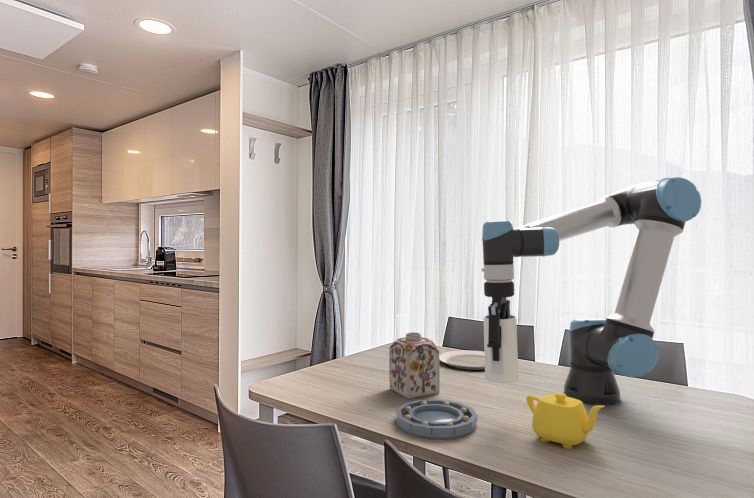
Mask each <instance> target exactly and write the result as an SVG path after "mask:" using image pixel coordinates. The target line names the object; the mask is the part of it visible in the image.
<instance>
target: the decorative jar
mask: <svg viewBox="0 0 754 498" xmlns="http://www.w3.org/2000/svg"><path fill="white" fill-rule="evenodd" d="M439 355H440V350H439V348H438V347H437V345H436V344H435V342H434V341H433V339H429V338H427V337H423V336H422V333H420V332H406V334H405V337H399V338H397V339H395V340H394V341H393V342H392V343H391V345H390V347H389V355H388V356H389V363H388V368H389V370H388V371H389V373H388V374H389V377H388V378H389V389H390V390H392V391H393V392H395V393H397V394H398V395H401V396H402V397H404V398H406V399H407V400H411V399H416V398H419V397H421V398H422V397H426V396H431V395H436V394H440V388H441V387H440V384H441V383H440V382H441V381H440V380H441V379H440V377H441V376H440V370H441V368H440V360H439Z"/></svg>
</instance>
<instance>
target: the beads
mask: <svg viewBox="0 0 754 498" xmlns="http://www.w3.org/2000/svg"><path fill="white" fill-rule="evenodd" d="M424 404H427V402H426V401H422V402H421V405H424ZM443 405H448V406H450V404H449V402H444V403H443ZM410 410H411V407H410V406H406V407H405V412H406V413H409V411H410ZM460 410H461V411H462V413H463V414H464V415H465V414H466V413H467V409H466V408H464V407H462V408H461V409H460ZM404 418H406V419H408V420H411V416H410V415H409V414H406V415H405V416H404ZM468 420H469V417H468V416H463V418H462V421H463V422H467V421H468ZM421 424H423V425H428V423H427V422H426V421H423V422H422V423H421ZM446 426H453V423H452V422H447V423H446Z"/></svg>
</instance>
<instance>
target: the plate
mask: <svg viewBox="0 0 754 498" xmlns="http://www.w3.org/2000/svg"><path fill="white" fill-rule="evenodd" d="M464 356H470V357H471V358H472V357H473V358H483V359H485V352H484V351H481V350H468V349H467V350H464V349H463V350H453V351H452V350H451V351H447V352H442V353H441V354H439V362H442V363H445V364H446V365H448V366H450V367H453V368H457V369H462V370H478V371H479V370H485V365H484V366H469V365H459V364H452V363H449V362H447V361H448V360H450V358H451V359H454V357H455V358H462V357H463V358H465V357H464Z"/></svg>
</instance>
